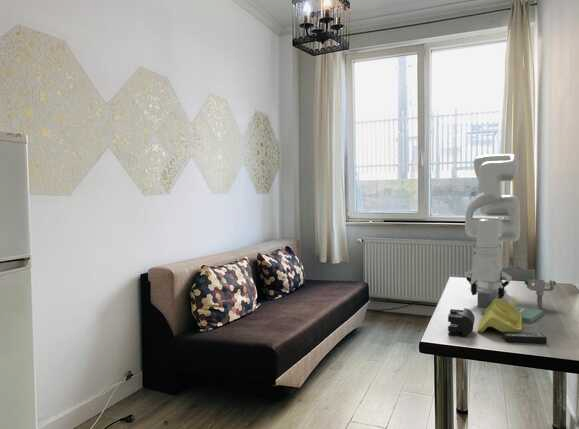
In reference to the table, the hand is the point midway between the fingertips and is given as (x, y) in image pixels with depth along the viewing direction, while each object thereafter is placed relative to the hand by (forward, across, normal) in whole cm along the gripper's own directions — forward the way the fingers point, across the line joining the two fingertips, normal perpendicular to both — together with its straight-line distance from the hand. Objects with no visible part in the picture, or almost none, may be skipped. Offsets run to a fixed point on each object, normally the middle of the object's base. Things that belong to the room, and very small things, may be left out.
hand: (487, 296), depth 167 cm
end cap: (+5, +6, -38) cm, 39 cm away
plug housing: (+4, 0, +1) cm, 4 cm away
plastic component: (+5, +13, -25) cm, 28 cm away
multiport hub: (+6, +22, -33) cm, 41 cm away
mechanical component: (+4, +15, +13) cm, 20 cm away
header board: (+4, +11, -6) cm, 13 cm away
